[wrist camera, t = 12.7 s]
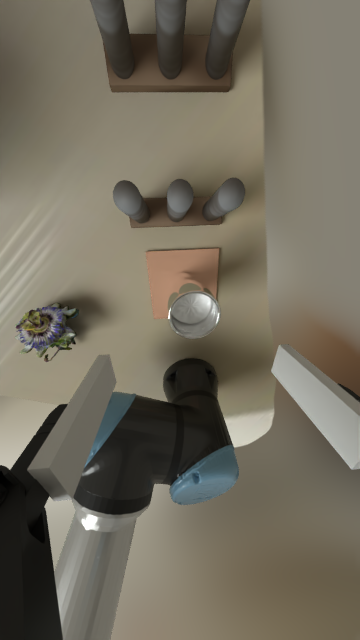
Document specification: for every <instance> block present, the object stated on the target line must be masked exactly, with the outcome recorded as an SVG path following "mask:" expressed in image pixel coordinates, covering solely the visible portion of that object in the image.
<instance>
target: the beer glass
mask: <svg viewBox="0 0 360 640" xmlns="http://www.w3.org/2000/svg"><path fill="white" fill-rule="evenodd" d="M169 290H170V292H169V295H168V298H167V312H168V318H169V323H170V326H171V328H172V329H173V330H174V331H175V332H176V333H177V334H178V335H180V336H182V337H184V338H188V339H197V338H202V337H204V336H206V335H208V334H210V333H211V332H212V331H213V330H214V329H215V328H216V326H217V325H218V323H219V320H220V316H221V311H220V306H219V304H218V302H217V300H216V299H215V297H214V296H213V294H212V292H211V291H210V290H209V289H208V288H207V287H206V286H205V285H204V284H203V283H201V282H199V281H197V279H196V278H195V277H194V276H193V275H192V274H190V273H186V272H182V273H179V274H177V275H175V276H174V277H173V278H172V280H171V281H170V285H169Z"/></svg>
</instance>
